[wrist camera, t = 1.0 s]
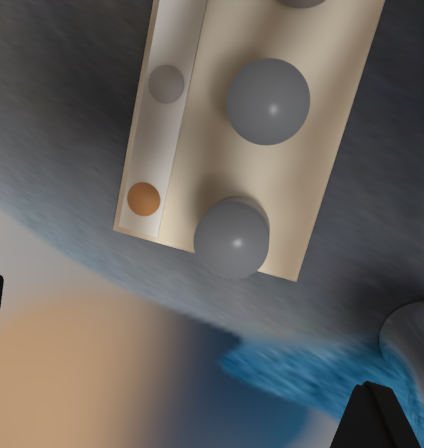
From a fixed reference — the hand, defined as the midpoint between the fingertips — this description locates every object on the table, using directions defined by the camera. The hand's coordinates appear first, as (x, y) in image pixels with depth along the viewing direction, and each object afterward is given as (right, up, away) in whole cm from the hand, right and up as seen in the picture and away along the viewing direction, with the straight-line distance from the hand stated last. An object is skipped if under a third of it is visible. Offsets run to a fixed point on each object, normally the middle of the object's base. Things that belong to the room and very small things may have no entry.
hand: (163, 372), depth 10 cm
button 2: (+3, +3, +16) cm, 17 cm away
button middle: (+5, +11, +14) cm, 19 cm away
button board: (+3, +12, +17) cm, 21 cm away
